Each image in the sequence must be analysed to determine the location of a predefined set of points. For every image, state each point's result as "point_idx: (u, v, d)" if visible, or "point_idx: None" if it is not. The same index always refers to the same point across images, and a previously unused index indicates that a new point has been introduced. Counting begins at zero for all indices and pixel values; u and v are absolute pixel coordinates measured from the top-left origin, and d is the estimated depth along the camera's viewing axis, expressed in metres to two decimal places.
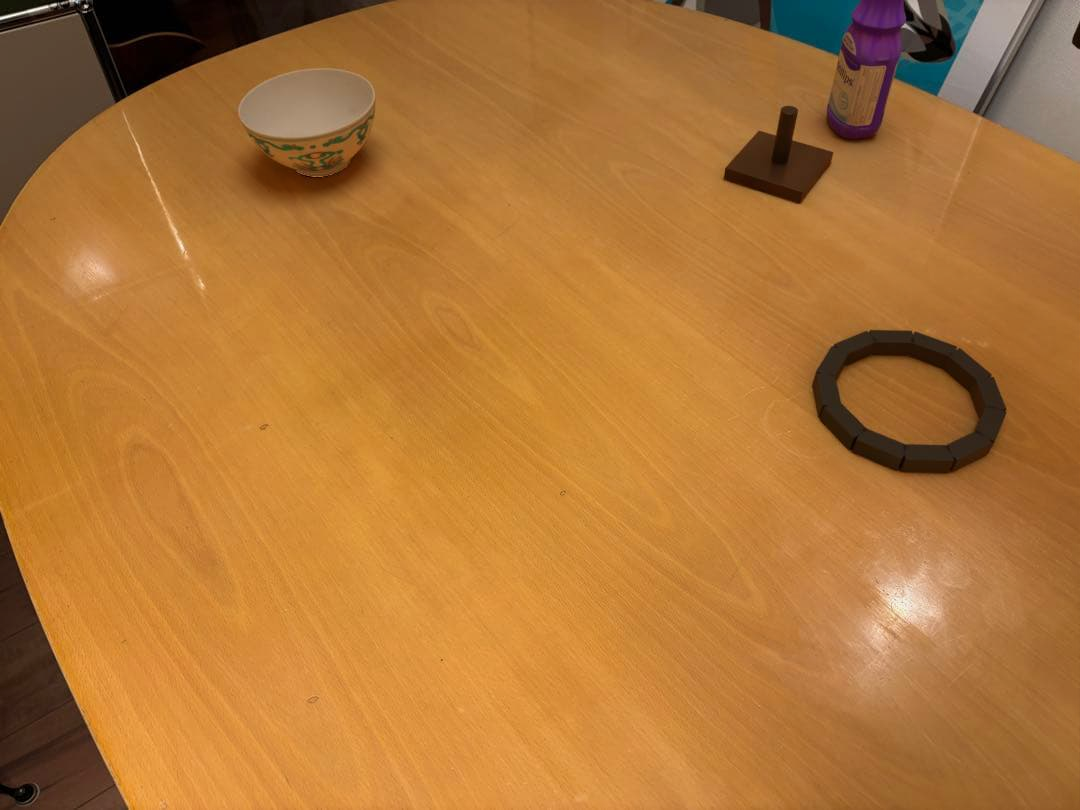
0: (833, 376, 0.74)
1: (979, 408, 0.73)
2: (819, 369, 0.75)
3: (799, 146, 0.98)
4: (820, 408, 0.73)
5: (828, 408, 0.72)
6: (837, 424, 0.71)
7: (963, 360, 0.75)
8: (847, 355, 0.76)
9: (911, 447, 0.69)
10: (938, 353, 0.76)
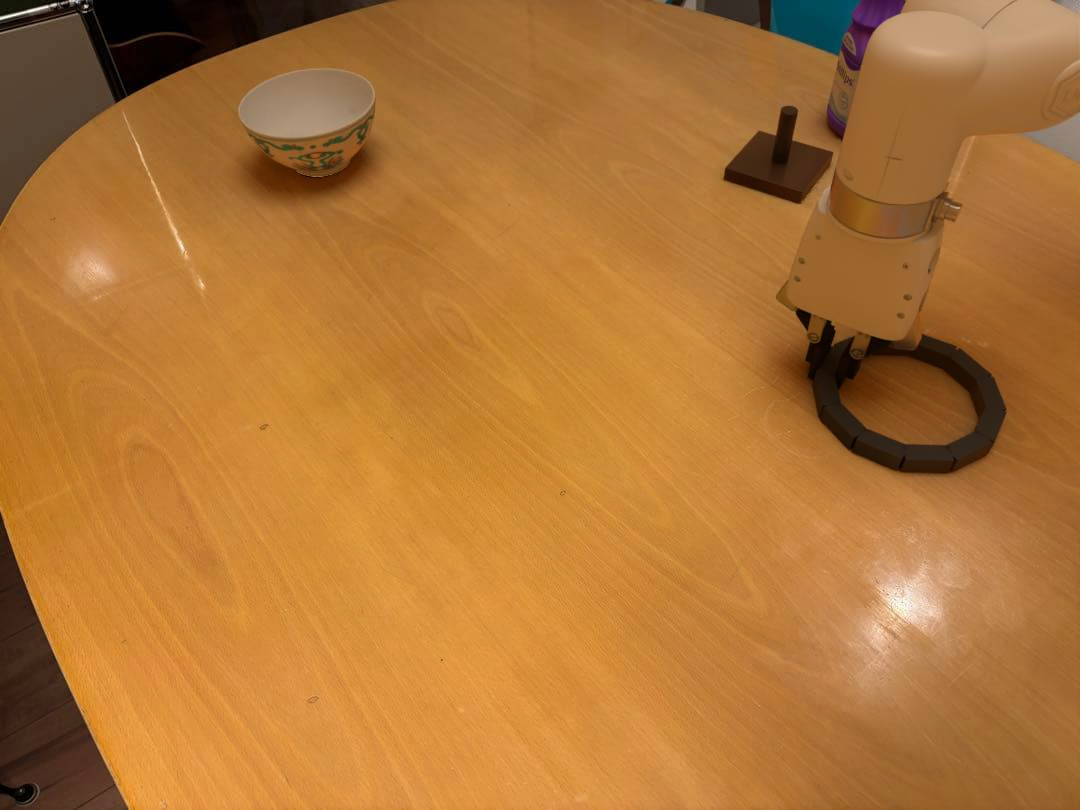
0: (833, 376, 0.74)
1: (979, 408, 0.73)
2: (819, 369, 0.75)
3: (799, 146, 0.98)
4: (820, 408, 0.73)
5: (828, 408, 0.72)
6: (837, 424, 0.71)
7: (963, 360, 0.75)
8: None
9: (912, 447, 0.69)
10: (938, 353, 0.76)
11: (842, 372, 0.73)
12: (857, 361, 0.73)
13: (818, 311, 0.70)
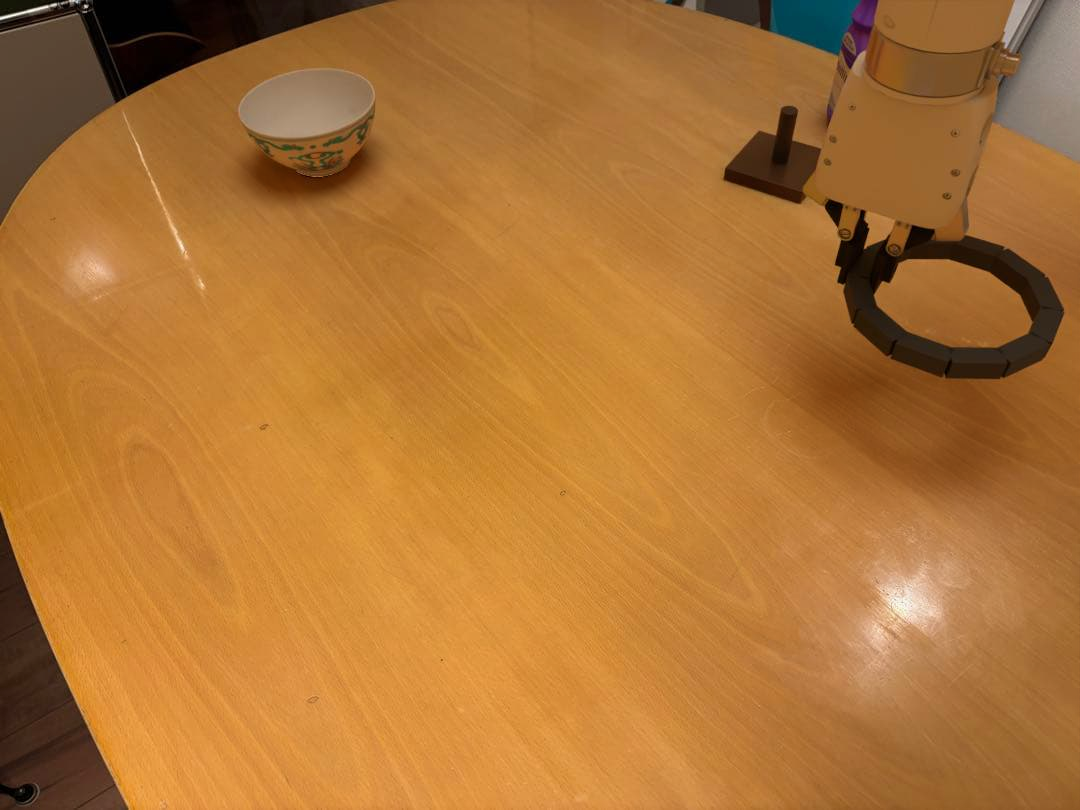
0: (867, 279, 0.66)
1: (1032, 311, 0.65)
2: (851, 272, 0.67)
3: (799, 146, 0.98)
4: (853, 313, 0.65)
5: (862, 311, 0.64)
6: (873, 328, 0.63)
7: (1012, 260, 0.67)
8: None
9: (959, 350, 0.61)
10: (984, 254, 0.68)
11: (877, 273, 0.66)
12: (894, 259, 0.65)
13: (851, 200, 0.62)
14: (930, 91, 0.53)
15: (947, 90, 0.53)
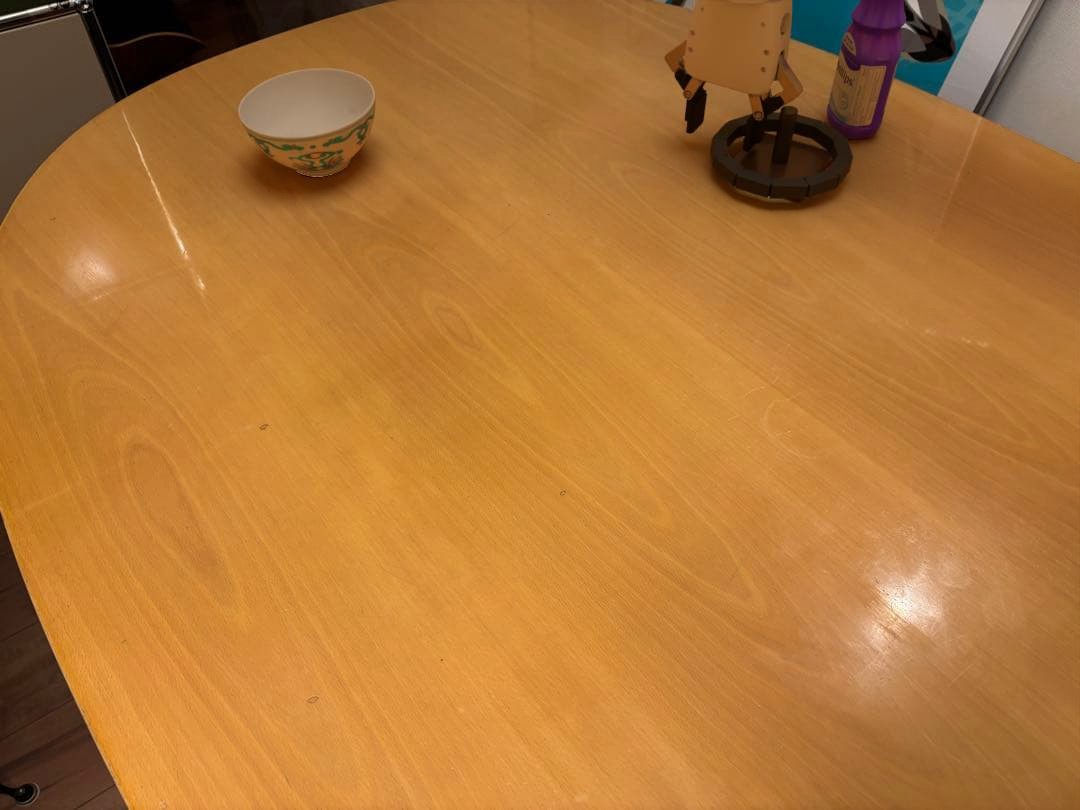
0: (725, 139, 0.97)
1: (834, 160, 0.95)
2: (715, 135, 0.97)
3: (799, 146, 0.98)
4: (713, 160, 0.95)
5: (718, 158, 0.94)
6: (724, 167, 0.93)
7: (825, 129, 0.97)
8: (737, 127, 0.98)
9: (777, 179, 0.91)
10: (807, 125, 0.98)
11: (749, 134, 0.95)
12: (760, 124, 0.94)
13: (707, 76, 0.93)
14: None
15: None
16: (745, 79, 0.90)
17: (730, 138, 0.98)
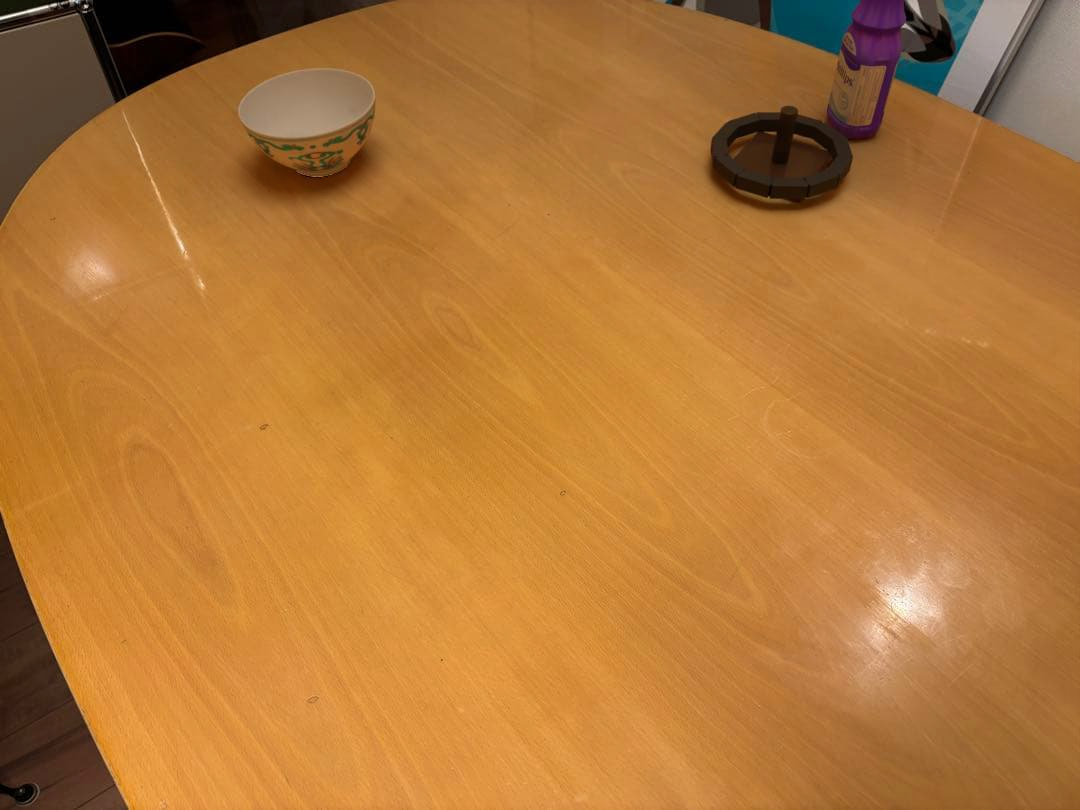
0: (725, 139, 0.97)
1: (834, 160, 0.95)
2: (715, 135, 0.97)
3: (799, 146, 0.98)
4: (713, 160, 0.95)
5: (718, 158, 0.94)
6: (724, 167, 0.93)
7: (825, 129, 0.97)
8: (737, 127, 0.98)
9: (777, 179, 0.91)
10: (807, 125, 0.98)
11: None
12: None
13: None
14: None
15: None
16: None
17: (730, 138, 0.98)
